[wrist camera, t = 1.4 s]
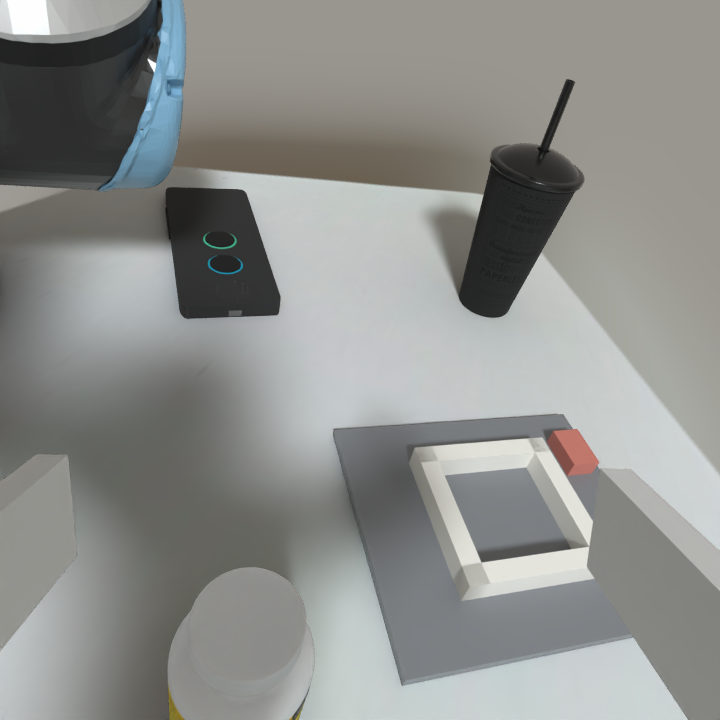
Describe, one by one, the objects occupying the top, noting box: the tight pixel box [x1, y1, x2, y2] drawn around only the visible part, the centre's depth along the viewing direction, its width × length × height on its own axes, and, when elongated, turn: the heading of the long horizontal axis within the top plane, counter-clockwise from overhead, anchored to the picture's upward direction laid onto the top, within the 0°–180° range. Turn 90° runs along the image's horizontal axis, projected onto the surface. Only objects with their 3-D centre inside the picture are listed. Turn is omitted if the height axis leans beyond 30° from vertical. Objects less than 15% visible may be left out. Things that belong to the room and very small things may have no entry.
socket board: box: [333, 414, 633, 686], centre depth 36 cm, size 16×18×2 cm
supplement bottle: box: [168, 567, 315, 720], centre depth 23 cm, size 5×5×10 cm
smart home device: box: [166, 187, 280, 319], centre depth 54 cm, size 8×2×20 cm
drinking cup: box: [459, 79, 584, 317], centre depth 49 cm, size 8×8×20 cm
